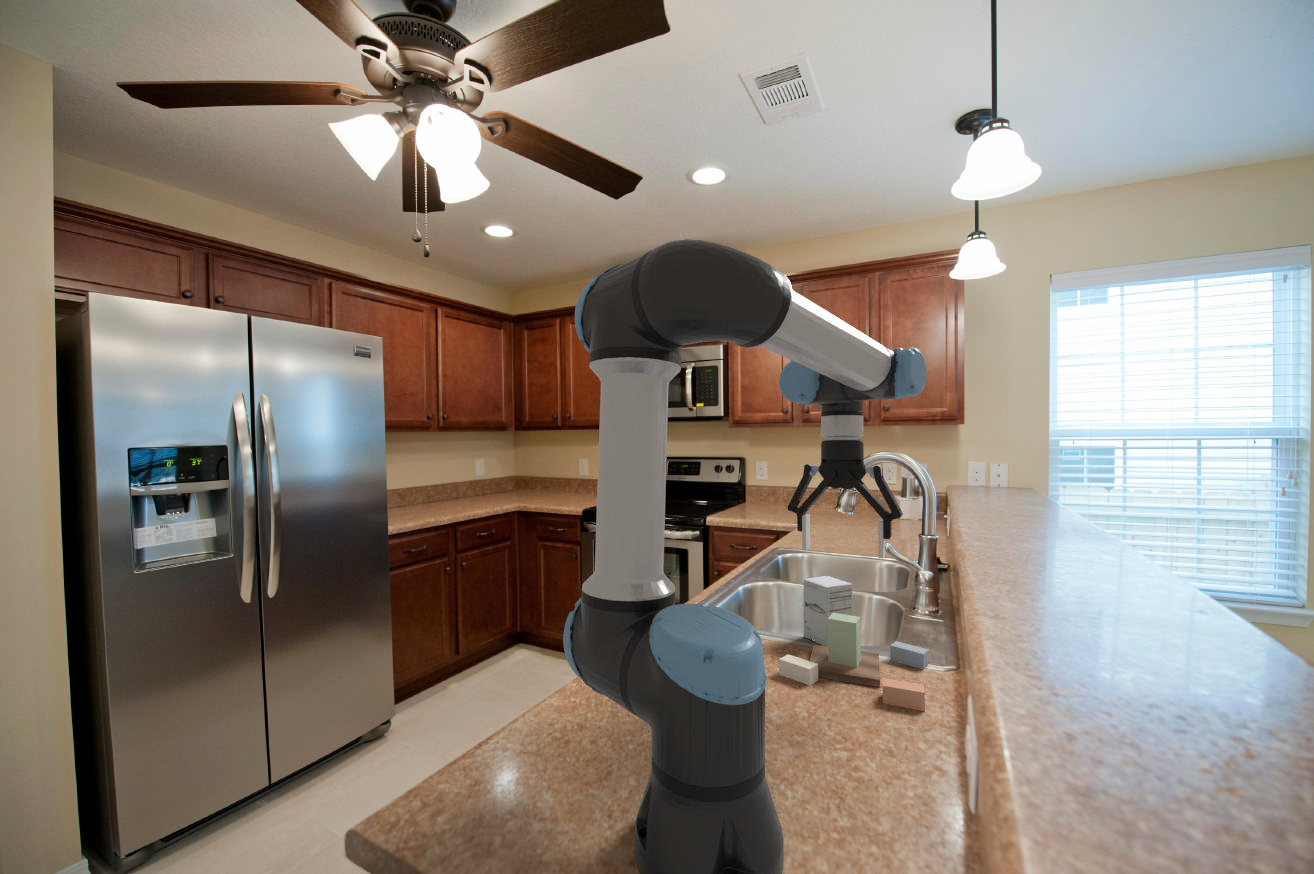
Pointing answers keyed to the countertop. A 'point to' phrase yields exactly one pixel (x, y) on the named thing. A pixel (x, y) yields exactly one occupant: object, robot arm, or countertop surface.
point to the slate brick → (909, 655)
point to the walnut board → (848, 667)
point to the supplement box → (824, 605)
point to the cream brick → (798, 669)
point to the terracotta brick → (903, 694)
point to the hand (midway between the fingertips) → (842, 552)
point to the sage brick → (844, 639)
